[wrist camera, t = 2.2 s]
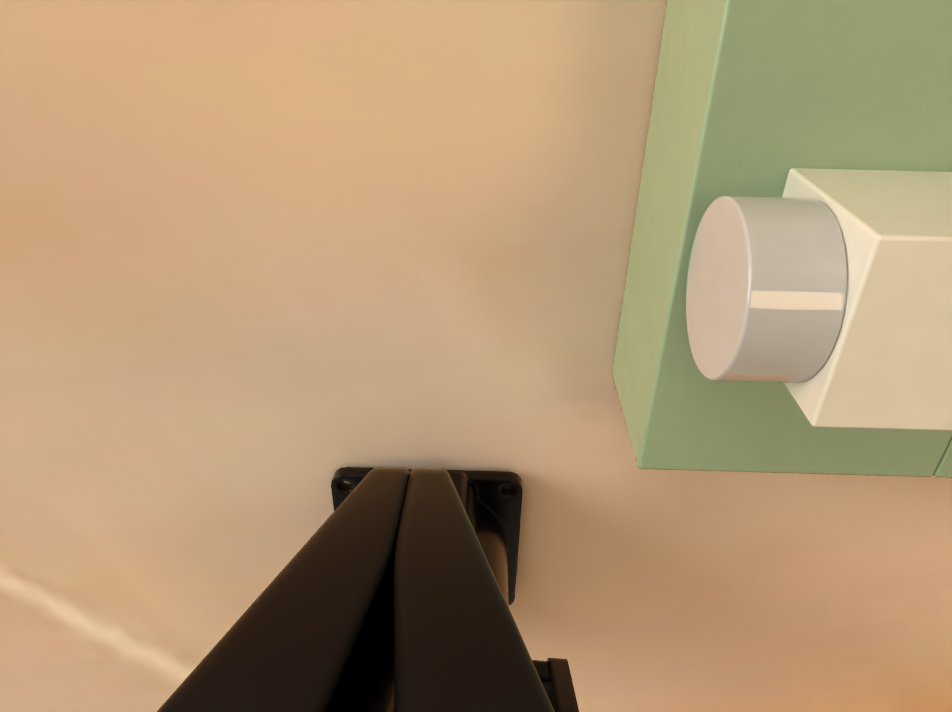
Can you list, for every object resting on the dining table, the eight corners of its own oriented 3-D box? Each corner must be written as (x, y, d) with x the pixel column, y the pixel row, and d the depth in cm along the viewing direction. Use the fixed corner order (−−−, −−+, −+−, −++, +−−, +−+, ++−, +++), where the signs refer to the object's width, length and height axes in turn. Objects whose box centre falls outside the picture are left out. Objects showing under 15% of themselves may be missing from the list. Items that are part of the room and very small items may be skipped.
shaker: (1058, 173, 13) (1231, 245, 10) (981, 334, 15) (1107, 436, 12) (706, 165, 13) (770, 233, 10) (673, 326, 15) (720, 426, 12)
